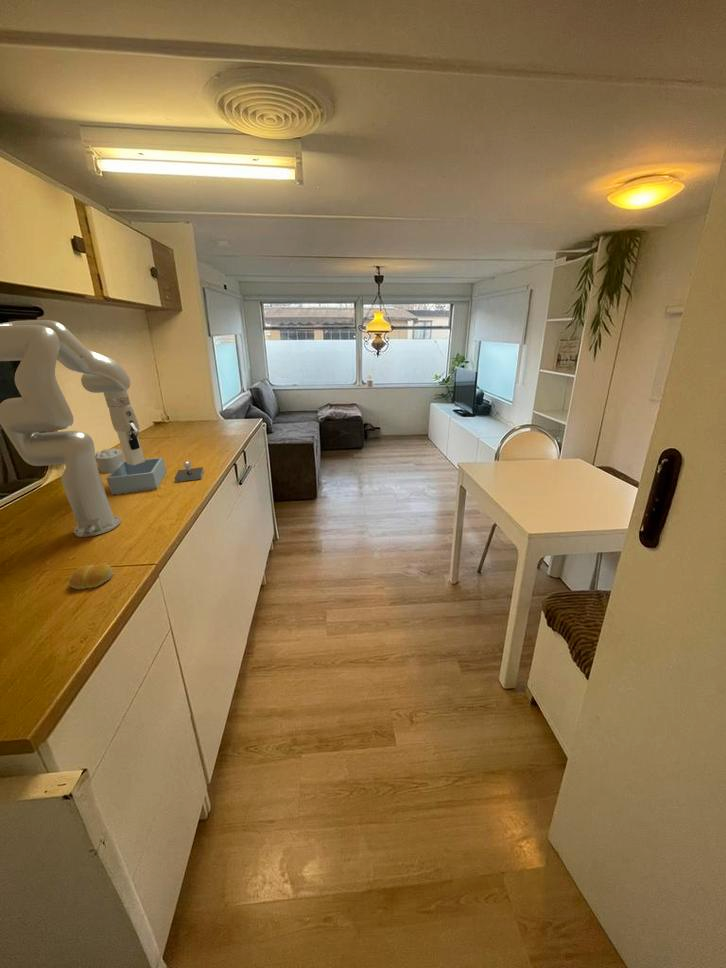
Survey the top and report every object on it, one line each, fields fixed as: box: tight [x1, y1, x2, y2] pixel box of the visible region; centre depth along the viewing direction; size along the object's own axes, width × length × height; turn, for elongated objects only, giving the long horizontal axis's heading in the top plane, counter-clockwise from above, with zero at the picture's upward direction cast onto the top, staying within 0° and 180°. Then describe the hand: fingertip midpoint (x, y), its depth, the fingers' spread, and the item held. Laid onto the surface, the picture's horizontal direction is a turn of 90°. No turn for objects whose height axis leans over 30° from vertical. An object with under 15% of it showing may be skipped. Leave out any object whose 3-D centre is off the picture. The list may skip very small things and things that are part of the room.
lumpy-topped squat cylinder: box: [95, 448, 126, 474], centre depth 171 cm, size 10×13×9 cm
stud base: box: [174, 460, 205, 483], centre depth 158 cm, size 10×10×7 cm
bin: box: [106, 457, 167, 496], centre depth 154 cm, size 20×16×7 cm
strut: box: [115, 430, 145, 465], centre depth 149 cm, size 5×5×14 cm
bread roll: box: [67, 563, 114, 590], centre depth 94 cm, size 8×9×4 cm
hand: (131, 447), depth 149 cm, fingers closed on strut, 4 cm apart
